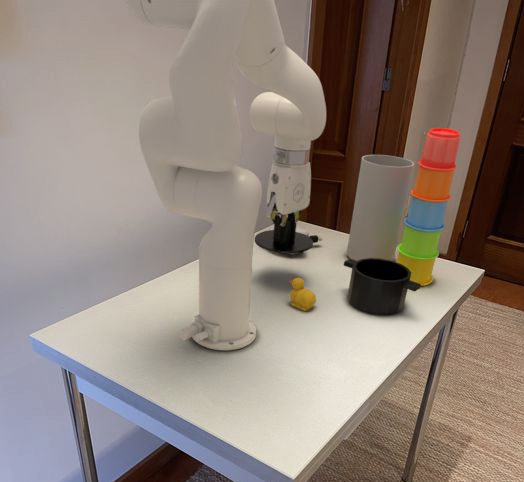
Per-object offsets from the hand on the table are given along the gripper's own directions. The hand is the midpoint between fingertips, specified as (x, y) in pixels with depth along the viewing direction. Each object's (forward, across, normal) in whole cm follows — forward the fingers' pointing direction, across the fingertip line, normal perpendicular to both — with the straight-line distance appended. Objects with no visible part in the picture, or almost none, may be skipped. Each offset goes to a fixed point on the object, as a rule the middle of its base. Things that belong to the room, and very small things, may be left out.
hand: (284, 239), depth 120 cm
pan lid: (+1, 0, 0) cm, 1 cm away
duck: (+10, -7, -12) cm, 17 cm away
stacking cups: (+10, +26, -21) cm, 35 cm away
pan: (+10, +7, -22) cm, 25 cm away
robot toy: (+10, +18, +11) cm, 23 cm away
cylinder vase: (+10, +29, -7) cm, 31 cm away
